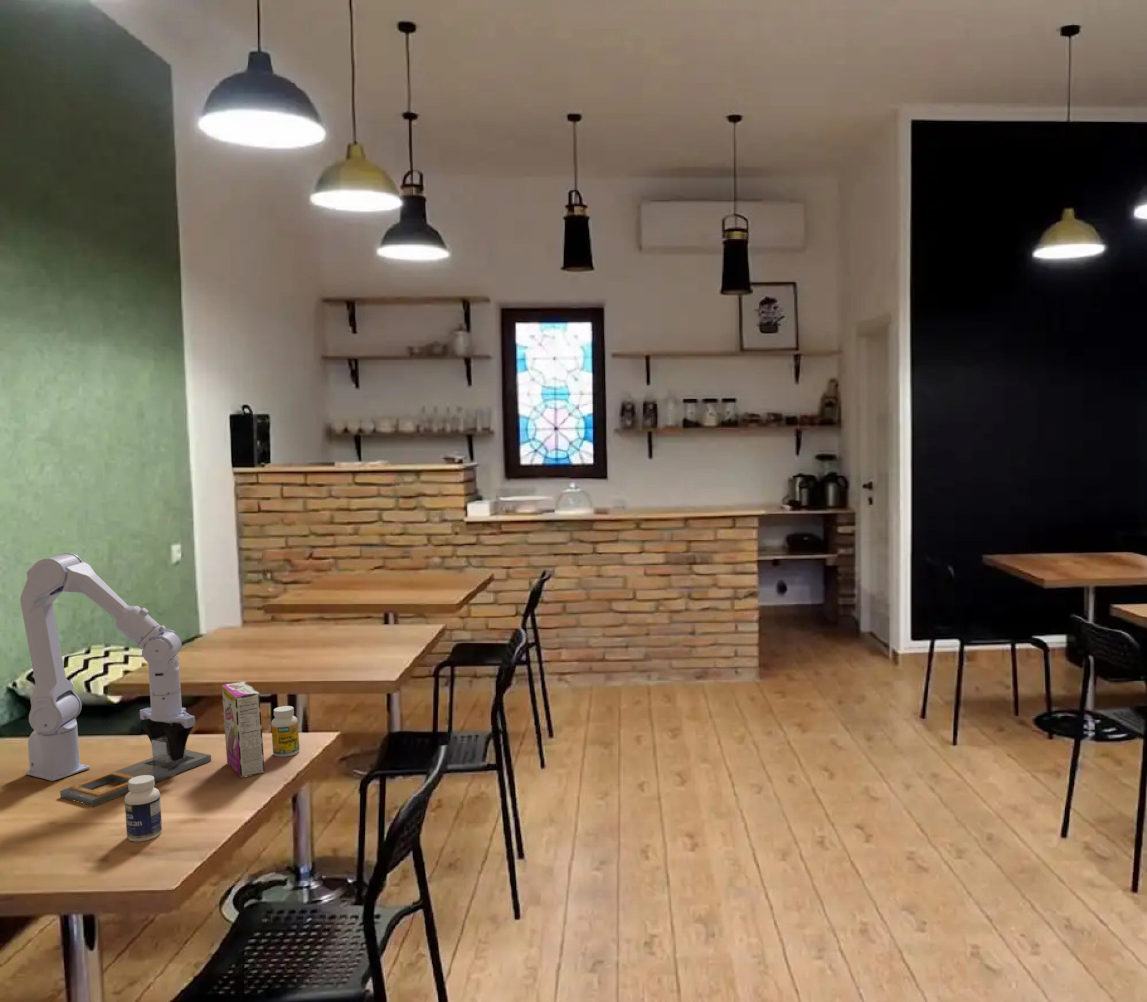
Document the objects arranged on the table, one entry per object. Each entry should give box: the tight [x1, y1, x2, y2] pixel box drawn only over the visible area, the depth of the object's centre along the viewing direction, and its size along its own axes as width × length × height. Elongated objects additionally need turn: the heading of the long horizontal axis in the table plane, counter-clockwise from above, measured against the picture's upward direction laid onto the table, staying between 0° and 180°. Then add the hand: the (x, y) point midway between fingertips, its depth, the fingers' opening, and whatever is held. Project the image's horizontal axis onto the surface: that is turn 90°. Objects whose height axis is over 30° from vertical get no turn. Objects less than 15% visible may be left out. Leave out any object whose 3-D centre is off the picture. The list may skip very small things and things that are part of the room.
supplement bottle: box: [270, 705, 300, 758], centre depth 196 cm, size 5×5×10 cm
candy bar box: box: [221, 681, 266, 778], centre depth 188 cm, size 11×5×16 cm, turn 34°
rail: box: [59, 749, 212, 807], centre depth 185 cm, size 10×26×2 cm, turn 151°
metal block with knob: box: [151, 735, 187, 769], centre depth 190 cm, size 4×4×6 cm
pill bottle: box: [124, 775, 163, 842], centre depth 157 cm, size 5×5×10 cm
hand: (169, 757), depth 191 cm, fingers closed on metal block with knob, 4 cm apart
